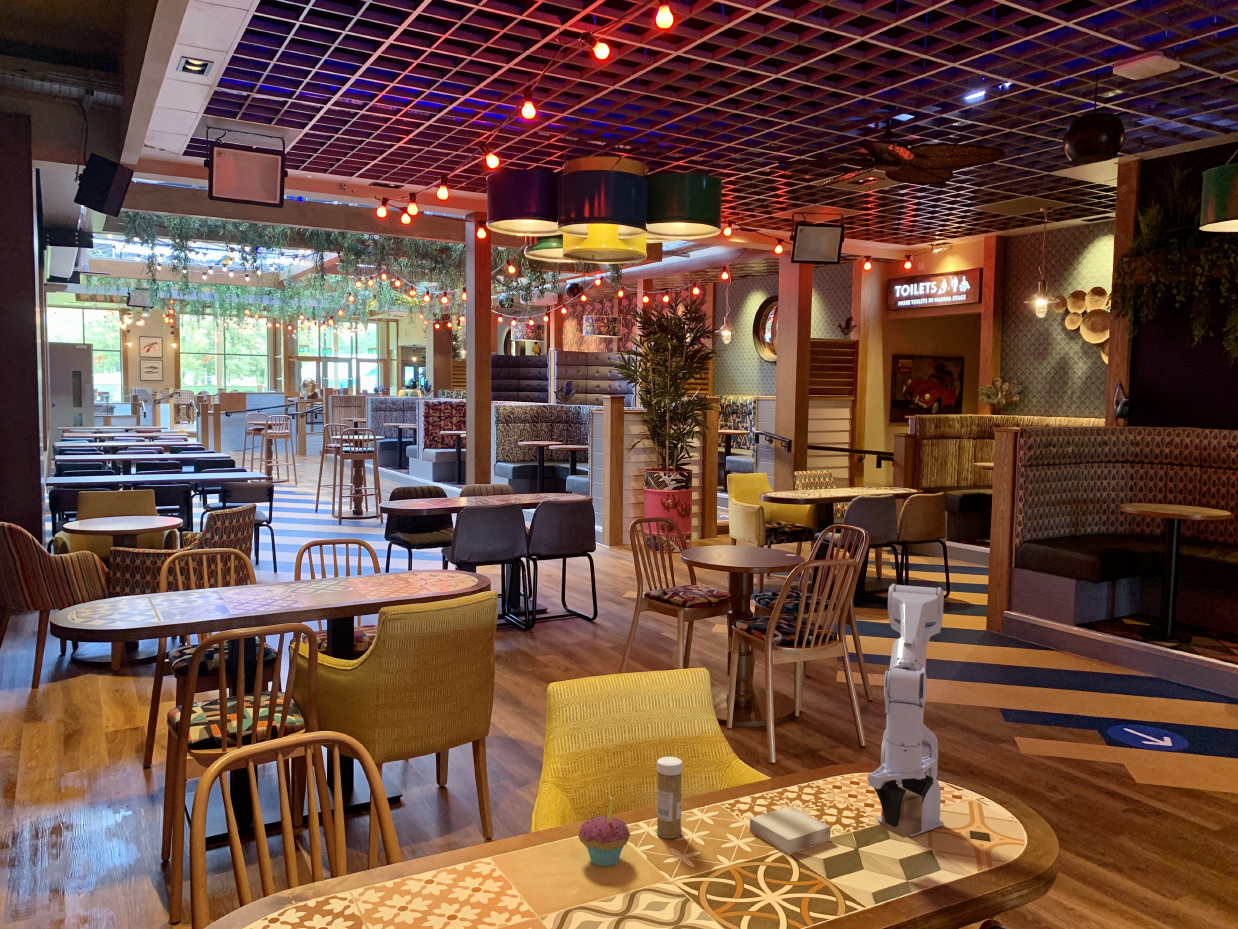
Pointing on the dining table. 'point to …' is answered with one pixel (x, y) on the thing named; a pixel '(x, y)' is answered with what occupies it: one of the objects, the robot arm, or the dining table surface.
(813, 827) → the birch block
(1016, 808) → the dining table surface
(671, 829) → the sprinkles bottle
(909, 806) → the walnut block
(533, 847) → the dining table surface
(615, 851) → the cupcake
